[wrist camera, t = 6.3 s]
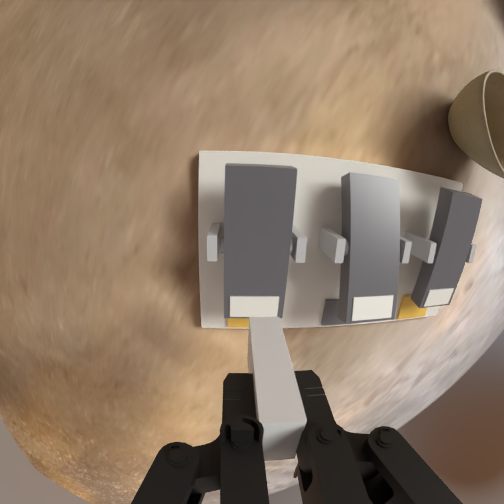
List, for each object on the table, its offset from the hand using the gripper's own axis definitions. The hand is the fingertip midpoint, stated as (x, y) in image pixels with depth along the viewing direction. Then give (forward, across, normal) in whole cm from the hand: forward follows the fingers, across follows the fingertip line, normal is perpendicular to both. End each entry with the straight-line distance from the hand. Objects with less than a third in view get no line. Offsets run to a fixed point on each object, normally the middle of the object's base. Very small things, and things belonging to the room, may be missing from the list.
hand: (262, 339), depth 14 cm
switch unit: (+9, +8, +2) cm, 12 cm away
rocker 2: (+5, +8, +4) cm, 10 cm away
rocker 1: (+5, 0, +4) cm, 6 cm away
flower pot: (+10, +21, +15) cm, 28 cm away
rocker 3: (+5, +16, +4) cm, 17 cm away
